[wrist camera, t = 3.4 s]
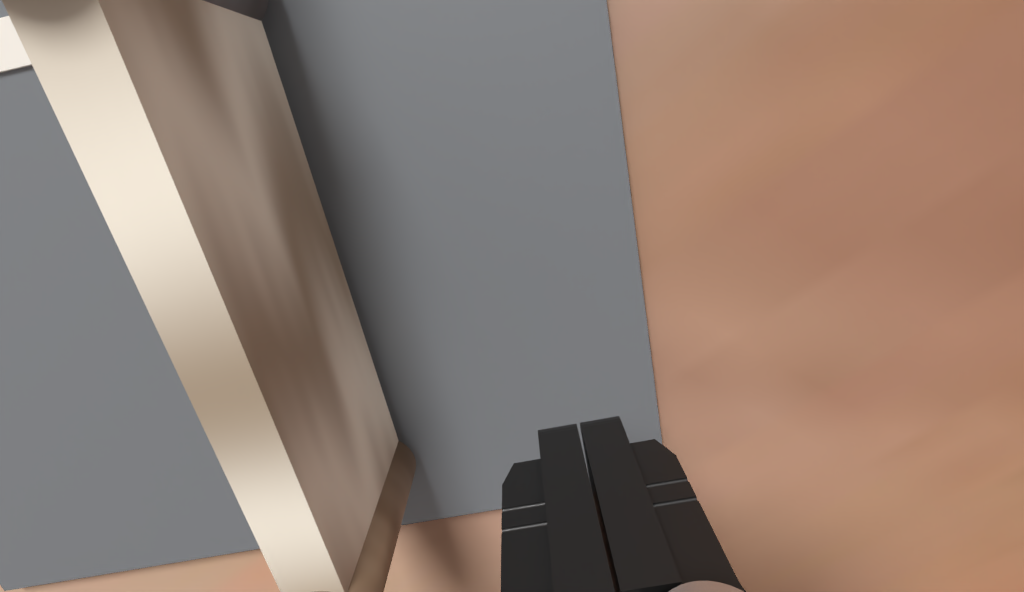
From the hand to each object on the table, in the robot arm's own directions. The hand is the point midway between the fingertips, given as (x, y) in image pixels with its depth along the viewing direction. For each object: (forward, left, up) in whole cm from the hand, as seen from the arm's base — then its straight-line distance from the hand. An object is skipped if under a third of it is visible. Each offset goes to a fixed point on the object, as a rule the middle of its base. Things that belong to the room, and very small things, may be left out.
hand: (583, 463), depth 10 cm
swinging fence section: (+6, -4, -5) cm, 8 cm away
